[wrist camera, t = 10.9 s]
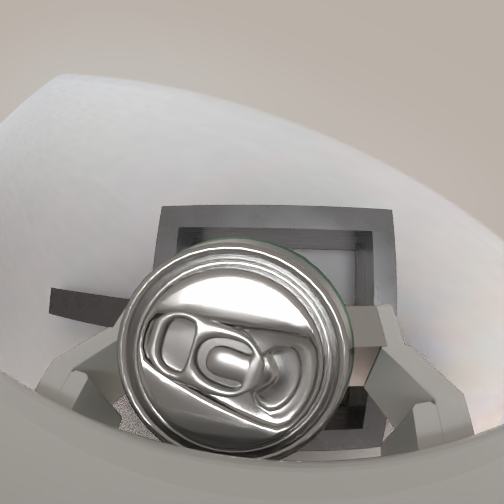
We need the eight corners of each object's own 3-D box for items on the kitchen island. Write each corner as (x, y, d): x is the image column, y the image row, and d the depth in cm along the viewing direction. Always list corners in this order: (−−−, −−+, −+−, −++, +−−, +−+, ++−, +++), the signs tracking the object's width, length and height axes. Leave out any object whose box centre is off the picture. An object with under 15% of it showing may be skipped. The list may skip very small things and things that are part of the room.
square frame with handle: (61, 374, 17) (27, 378, 14) (73, 229, 20) (42, 214, 16) (363, 422, 14) (381, 446, 10) (372, 232, 17) (391, 209, 13)
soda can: (288, 379, 15) (312, 504, 4) (207, 353, 16) (83, 419, 4) (314, 298, 16) (401, 264, 5) (232, 274, 17) (145, 193, 5)
